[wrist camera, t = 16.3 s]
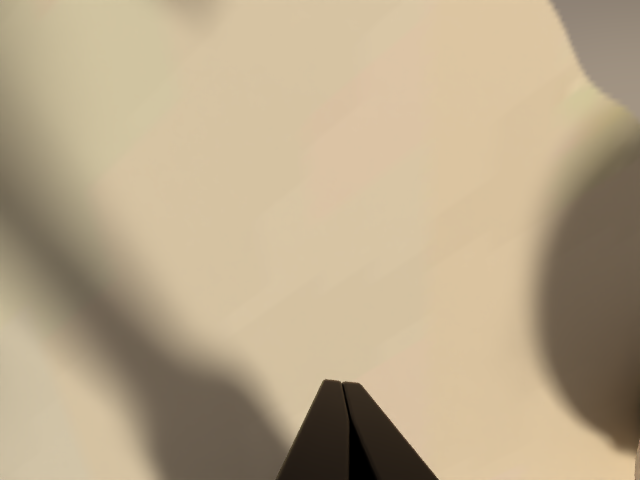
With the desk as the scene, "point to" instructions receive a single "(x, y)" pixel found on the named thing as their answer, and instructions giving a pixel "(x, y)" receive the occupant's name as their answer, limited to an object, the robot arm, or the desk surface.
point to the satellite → (637, 463)
